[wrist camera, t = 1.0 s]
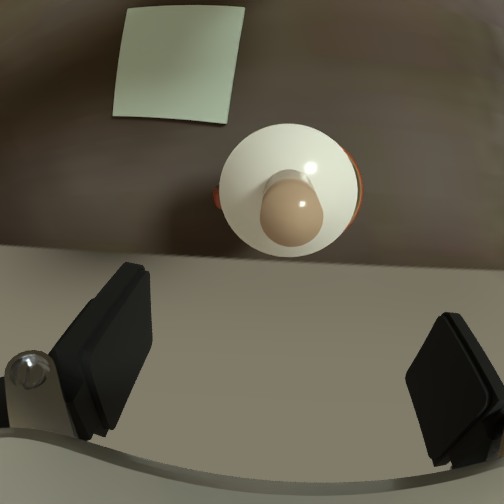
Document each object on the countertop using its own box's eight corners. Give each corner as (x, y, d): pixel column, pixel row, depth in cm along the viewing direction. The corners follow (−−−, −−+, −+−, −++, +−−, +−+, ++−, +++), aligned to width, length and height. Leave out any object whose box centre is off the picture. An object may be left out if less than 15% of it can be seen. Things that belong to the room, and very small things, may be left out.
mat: (130, 9, 25) (127, 8, 25) (245, 8, 25) (244, 7, 24) (115, 115, 31) (112, 115, 30) (227, 123, 31) (226, 123, 30)
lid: (230, 113, 21) (214, 116, 16) (367, 139, 21) (395, 151, 16) (215, 240, 25) (198, 278, 20) (337, 260, 25) (350, 302, 20)
